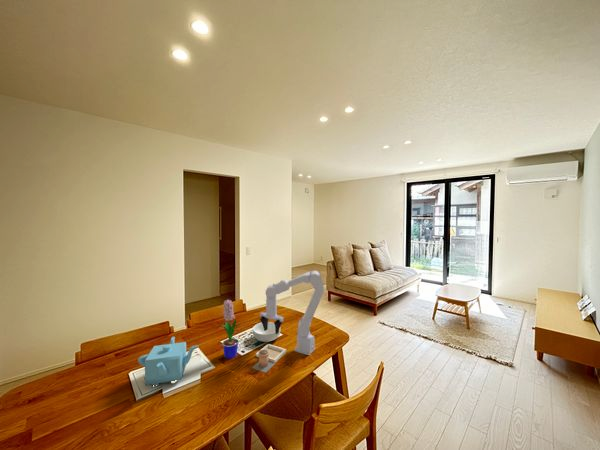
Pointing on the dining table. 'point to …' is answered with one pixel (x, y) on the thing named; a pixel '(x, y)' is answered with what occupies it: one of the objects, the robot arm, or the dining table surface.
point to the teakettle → (165, 362)
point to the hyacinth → (229, 331)
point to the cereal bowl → (265, 332)
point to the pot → (263, 358)
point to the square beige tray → (273, 352)
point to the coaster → (263, 369)
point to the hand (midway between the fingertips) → (271, 331)
